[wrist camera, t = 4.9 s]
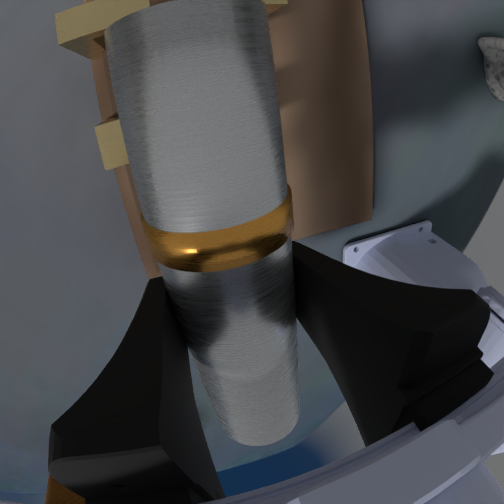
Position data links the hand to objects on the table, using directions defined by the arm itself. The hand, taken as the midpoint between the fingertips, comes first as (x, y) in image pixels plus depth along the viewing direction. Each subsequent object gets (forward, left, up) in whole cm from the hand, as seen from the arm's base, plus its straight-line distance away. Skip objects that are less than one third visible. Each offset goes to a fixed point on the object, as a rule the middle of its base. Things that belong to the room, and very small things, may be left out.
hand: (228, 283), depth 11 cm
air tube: (0, -1, +1) cm, 1 cm away
